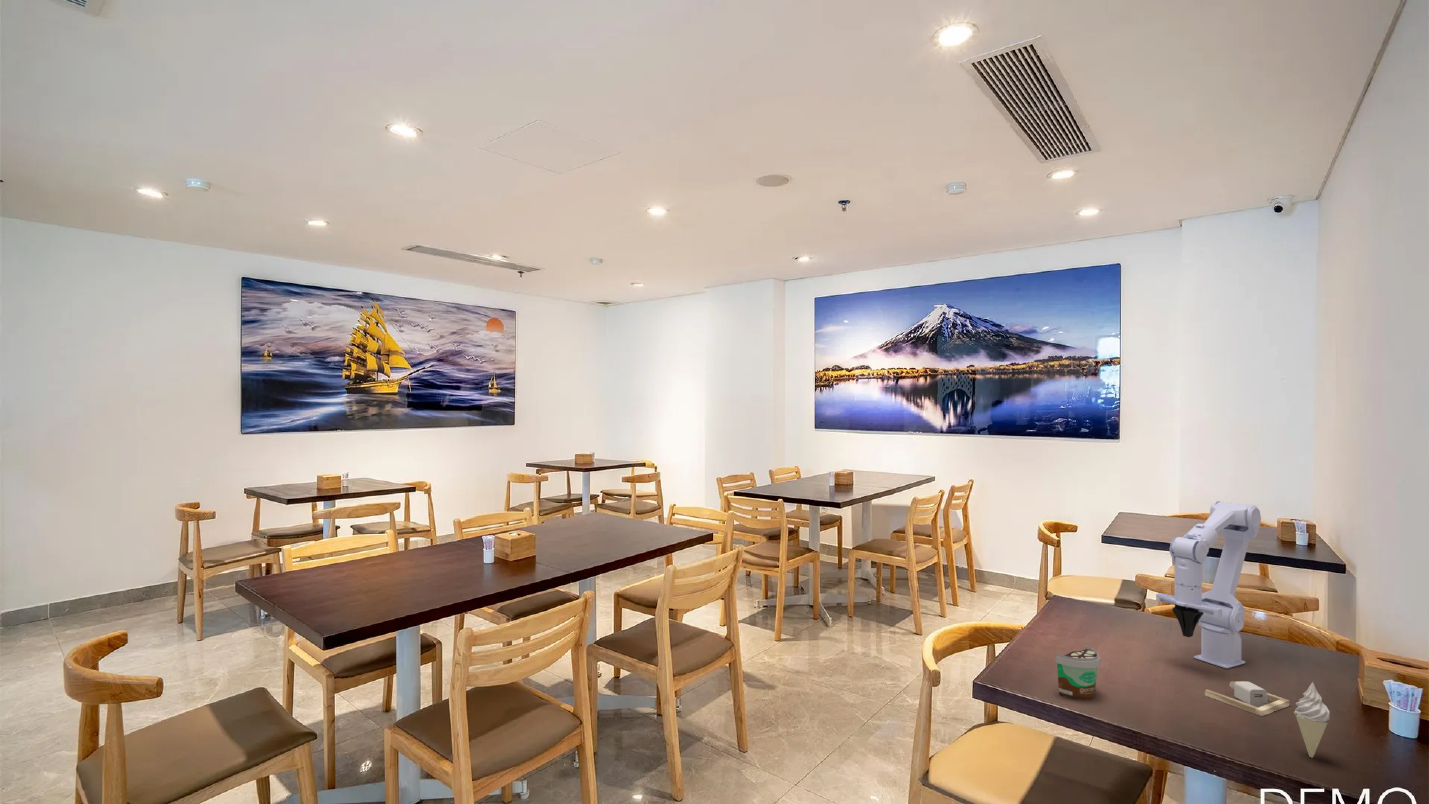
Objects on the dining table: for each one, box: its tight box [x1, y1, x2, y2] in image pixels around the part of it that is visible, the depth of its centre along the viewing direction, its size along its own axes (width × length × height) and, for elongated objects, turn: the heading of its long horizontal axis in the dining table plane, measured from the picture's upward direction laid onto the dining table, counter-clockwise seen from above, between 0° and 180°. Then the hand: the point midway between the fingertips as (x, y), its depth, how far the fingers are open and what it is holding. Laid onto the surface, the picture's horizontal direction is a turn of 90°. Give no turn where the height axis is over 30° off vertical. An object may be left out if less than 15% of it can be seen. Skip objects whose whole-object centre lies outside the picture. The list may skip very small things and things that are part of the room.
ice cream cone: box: [1293, 681, 1331, 759], centre depth 123 cm, size 5×5×15 cm
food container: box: [1055, 645, 1102, 701], centre depth 149 cm, size 12×6×10 cm, turn 117°
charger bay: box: [1204, 681, 1291, 717], centre depth 147 cm, size 12×11×1 cm
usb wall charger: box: [1229, 680, 1268, 708], centre depth 148 cm, size 4×7×4 cm, turn 0°
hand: (1187, 636), depth 164 cm, fingers closed
